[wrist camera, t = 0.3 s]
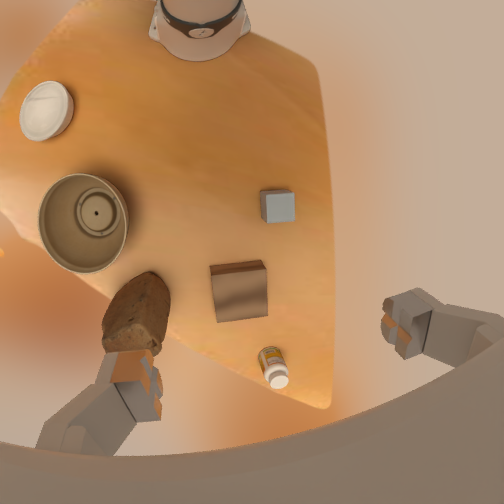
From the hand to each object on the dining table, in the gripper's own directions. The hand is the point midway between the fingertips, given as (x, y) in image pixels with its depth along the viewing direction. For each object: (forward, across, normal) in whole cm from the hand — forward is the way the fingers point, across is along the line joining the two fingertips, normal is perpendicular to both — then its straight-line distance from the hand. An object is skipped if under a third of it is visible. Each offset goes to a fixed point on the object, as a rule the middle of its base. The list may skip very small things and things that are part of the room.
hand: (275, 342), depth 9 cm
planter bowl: (+46, +22, 0) cm, 51 cm away
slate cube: (+46, -11, +5) cm, 48 cm away
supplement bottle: (+46, -7, +40) cm, 61 cm away
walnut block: (+46, -2, +20) cm, 51 cm away
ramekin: (+46, +28, -21) cm, 58 cm away
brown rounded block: (+46, +17, +18) cm, 52 cm away
